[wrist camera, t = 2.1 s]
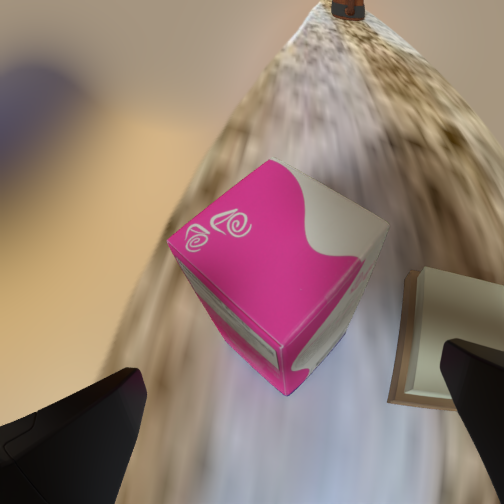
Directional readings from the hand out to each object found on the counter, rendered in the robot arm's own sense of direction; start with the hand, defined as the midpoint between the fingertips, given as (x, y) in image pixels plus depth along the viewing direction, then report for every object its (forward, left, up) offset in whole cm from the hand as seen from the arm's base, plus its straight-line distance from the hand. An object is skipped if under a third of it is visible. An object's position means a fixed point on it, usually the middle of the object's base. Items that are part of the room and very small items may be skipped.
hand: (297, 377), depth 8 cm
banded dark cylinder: (+41, -72, -11) cm, 84 cm away
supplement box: (+3, -3, -11) cm, 12 cm away
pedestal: (-7, -10, -11) cm, 16 cm away
